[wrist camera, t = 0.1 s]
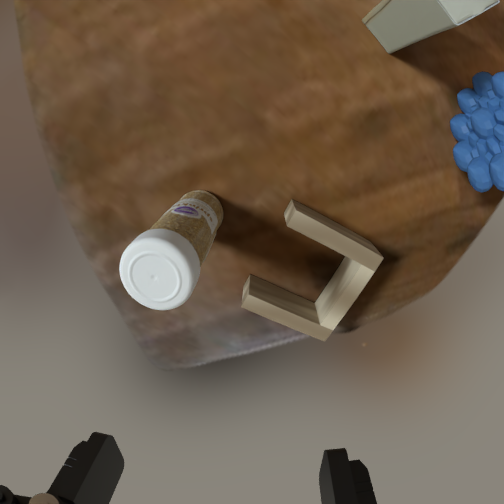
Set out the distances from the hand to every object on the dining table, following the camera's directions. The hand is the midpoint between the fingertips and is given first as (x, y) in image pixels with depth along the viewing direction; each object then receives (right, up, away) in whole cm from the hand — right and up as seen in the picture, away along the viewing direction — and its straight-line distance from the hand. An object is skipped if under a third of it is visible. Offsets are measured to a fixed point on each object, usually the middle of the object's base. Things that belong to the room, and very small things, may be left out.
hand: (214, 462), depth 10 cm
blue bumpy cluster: (+23, +20, +15) cm, 34 cm away
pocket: (+7, +7, +21) cm, 23 cm away
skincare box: (+15, +29, +12) cm, 35 cm away
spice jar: (-3, +11, +20) cm, 23 cm away
